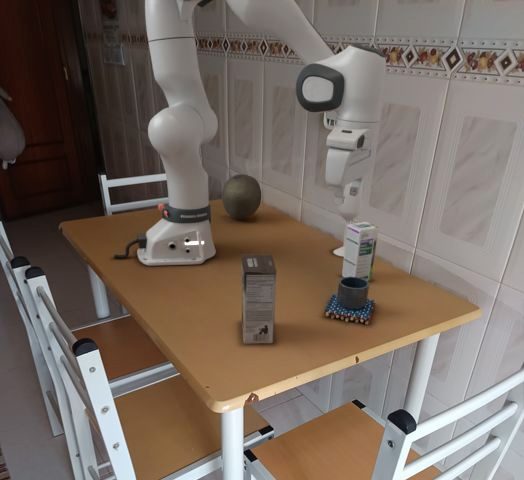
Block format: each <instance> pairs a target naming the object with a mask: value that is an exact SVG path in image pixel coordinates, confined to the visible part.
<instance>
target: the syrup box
mask: <svg viewBox="0 0 524 480" xmlns="http://www.w3.org/2000/svg"><path fill="white" fill-rule="evenodd" d="M378 235H379V227H378V226H377V225H375V224H373V223H371V222H369V221H363V222H356V223H350V224H348V225H347V233H346V242H345V252H344V257H343V262H342V271H341V276H342V278H344V277H358V278H362V279H365V280H366V281H368V282H369V281H372V277H373V269H374V263H375V256H376V249H377V242H378V237H379V236H378Z"/></svg>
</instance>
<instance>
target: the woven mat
mask: <svg viewBox="0 0 524 480" xmlns="http://www.w3.org/2000/svg"><path fill="white" fill-rule="evenodd" d="M337 294H338V293H335V294H332V295H331V297H330V299H329V301H328V302H327V305H326V306H325V308H324V312H323V315H325V317H330V318H331V319H332V320H333V319H334V318H336V319H339V318H340V320H341V321H343V320H344V319H345V322H349V320H350V321H355V324H357V323H359V322H360V323H361V324H362V323H364V324H365V325H366V326H367V325H369V322H370V321H371V319H373V318H372V317H373V313H374V311H375V307H376V302H375V300H374V299H369V298H367V303H366V305H365V306H364V307H363V308H361V309H358V310H350V309H345V308H343V307H341V306H340V305H339V303H338V302H337Z"/></svg>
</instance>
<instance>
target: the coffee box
mask: <svg viewBox="0 0 524 480" xmlns="http://www.w3.org/2000/svg"><path fill="white" fill-rule="evenodd" d="M277 273H278V272H277V268H276V264H275V261H274V258H273V255H272V254H260V253H259V254H257V253H256V254H255V253H254V254H253V253H252V254H248V253H247V254H246V253H245V254H241V327H242V337H243V338H242V339H243V344H244V345H245V344H273V343H274V334H275V333H274V332H275V316H276V315H275V314H276V299H277V298H276V294H277V276H278V275H277Z"/></svg>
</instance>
